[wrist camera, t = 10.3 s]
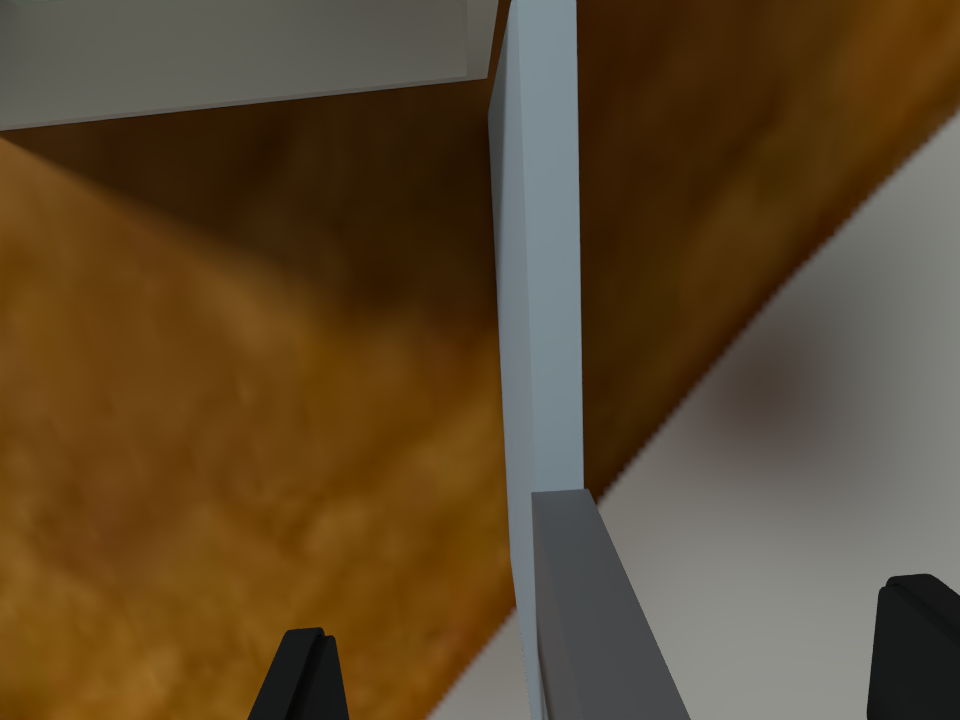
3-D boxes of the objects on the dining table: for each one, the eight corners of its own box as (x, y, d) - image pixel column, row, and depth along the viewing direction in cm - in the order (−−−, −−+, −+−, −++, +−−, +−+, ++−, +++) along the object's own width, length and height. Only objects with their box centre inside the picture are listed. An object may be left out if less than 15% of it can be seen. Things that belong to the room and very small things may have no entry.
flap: (485, 114, 23) (615, -592, 3) (515, 113, 23) (857, -603, 3) (508, 556, 28) (615, 1439, 8) (533, 554, 28) (702, 1431, 8)
